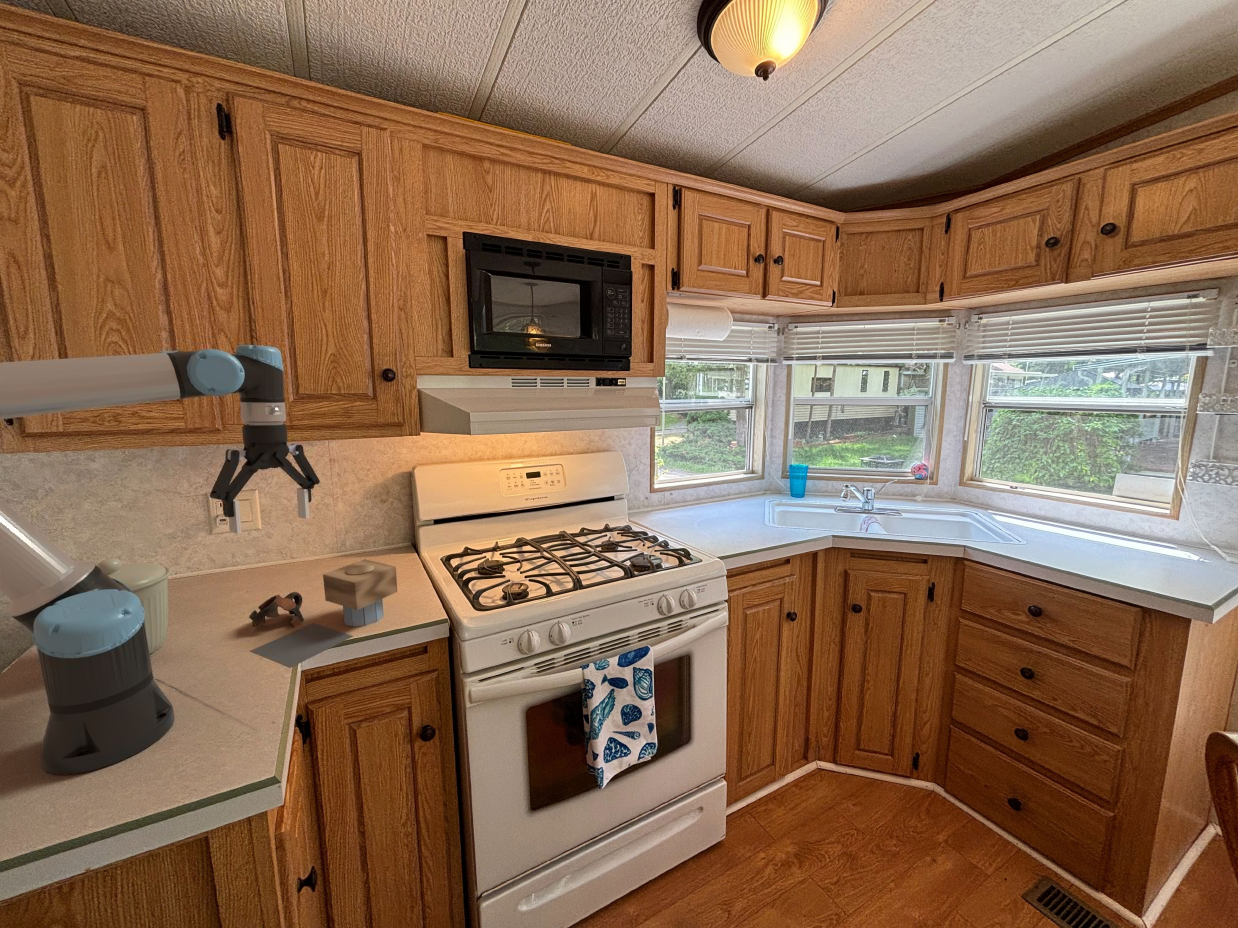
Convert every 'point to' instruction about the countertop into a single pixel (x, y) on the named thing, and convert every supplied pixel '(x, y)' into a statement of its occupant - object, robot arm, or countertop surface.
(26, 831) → the countertop surface
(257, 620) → the brown jointed arch
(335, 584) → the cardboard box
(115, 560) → the canister
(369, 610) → the faceted blue cup
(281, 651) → the mat
